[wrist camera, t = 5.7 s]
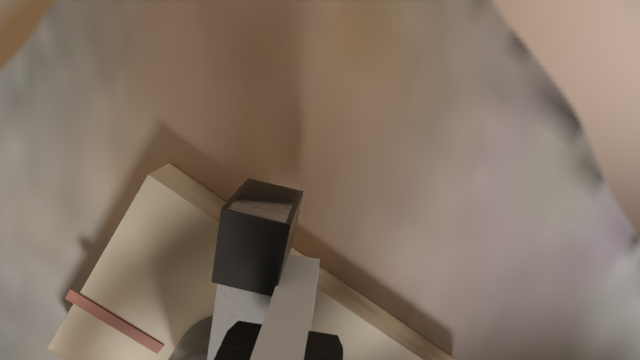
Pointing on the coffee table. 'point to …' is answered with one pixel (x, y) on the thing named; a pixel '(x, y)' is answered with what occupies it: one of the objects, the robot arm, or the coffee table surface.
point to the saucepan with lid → (245, 263)
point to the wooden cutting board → (197, 287)
